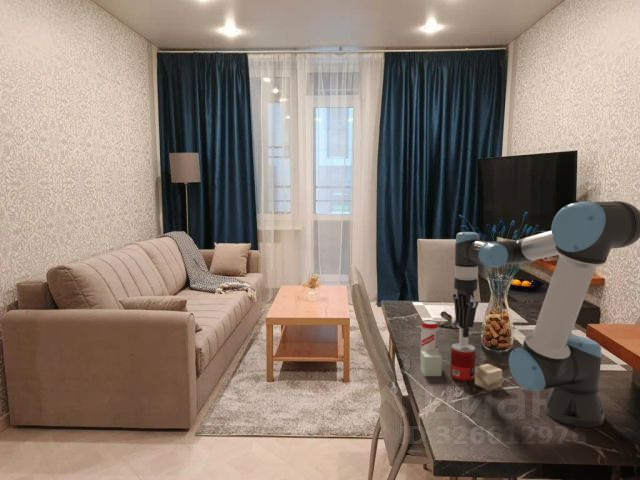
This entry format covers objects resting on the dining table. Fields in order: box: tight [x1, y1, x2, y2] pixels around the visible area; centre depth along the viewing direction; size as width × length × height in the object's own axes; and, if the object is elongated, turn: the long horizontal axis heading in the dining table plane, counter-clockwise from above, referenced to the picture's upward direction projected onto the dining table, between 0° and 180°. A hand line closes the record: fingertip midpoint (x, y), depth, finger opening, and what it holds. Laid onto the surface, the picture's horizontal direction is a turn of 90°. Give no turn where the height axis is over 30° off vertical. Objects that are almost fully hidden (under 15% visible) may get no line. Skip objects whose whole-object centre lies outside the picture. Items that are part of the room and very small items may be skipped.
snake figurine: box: [437, 310, 458, 328], centre depth 227 cm, size 8×7×9 cm
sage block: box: [419, 350, 443, 377], centre depth 172 cm, size 6×6×7 cm
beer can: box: [419, 319, 440, 362], centre depth 180 cm, size 6×6×16 cm
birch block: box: [474, 363, 503, 392], centre depth 162 cm, size 6×6×6 cm
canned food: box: [450, 342, 476, 382], centre depth 168 cm, size 8×8×11 cm
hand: (463, 345), depth 167 cm, fingers closed
